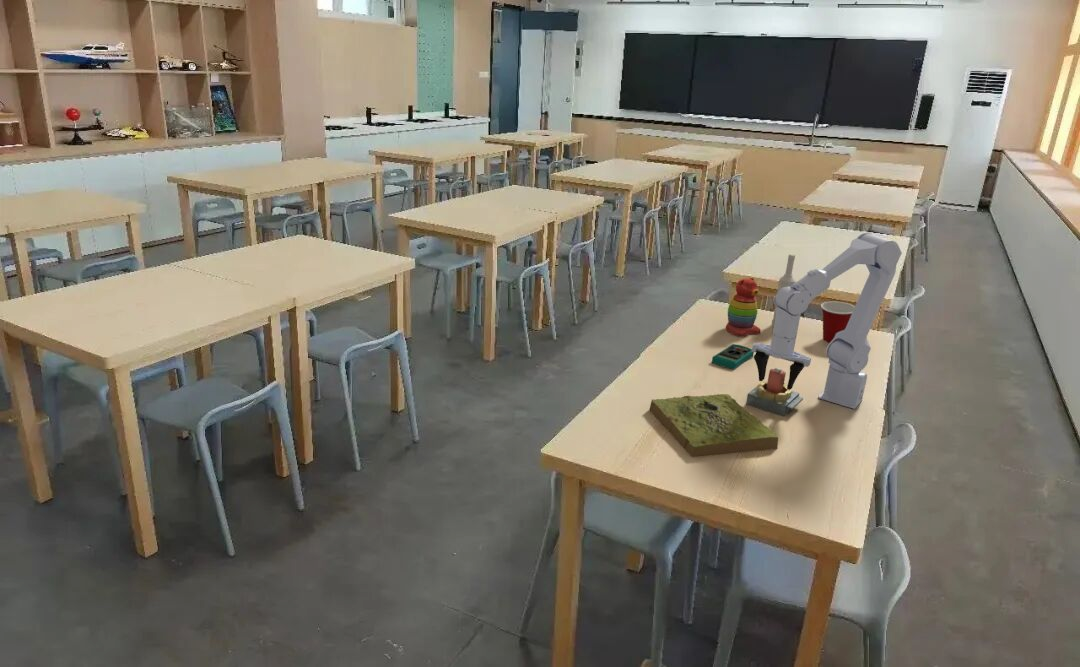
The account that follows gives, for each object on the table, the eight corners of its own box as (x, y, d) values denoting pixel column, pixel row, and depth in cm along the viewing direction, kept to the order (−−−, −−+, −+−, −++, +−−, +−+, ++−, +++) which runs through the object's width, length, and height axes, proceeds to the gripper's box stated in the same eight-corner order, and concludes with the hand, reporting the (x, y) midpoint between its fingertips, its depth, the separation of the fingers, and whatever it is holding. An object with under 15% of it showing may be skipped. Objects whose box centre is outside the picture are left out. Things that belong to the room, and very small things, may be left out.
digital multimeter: (754, 357, 221) (755, 348, 220) (734, 371, 210) (735, 361, 209) (731, 351, 225) (732, 342, 224) (710, 364, 214) (711, 355, 213)
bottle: (785, 324, 250) (798, 253, 241) (788, 329, 245) (801, 257, 236) (769, 323, 250) (782, 252, 242) (772, 328, 246) (785, 256, 237)
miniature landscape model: (691, 459, 161) (694, 439, 159) (648, 411, 182) (650, 393, 181) (777, 451, 167) (781, 431, 165) (726, 405, 188) (729, 388, 187)
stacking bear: (738, 337, 235) (747, 284, 229) (717, 327, 243) (725, 276, 237) (763, 333, 240) (772, 281, 234) (741, 323, 248) (749, 273, 242)
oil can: (783, 392, 189) (788, 368, 187) (779, 397, 186) (784, 373, 184) (768, 388, 191) (772, 364, 189) (764, 393, 188) (768, 369, 185)
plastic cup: (807, 337, 239) (813, 302, 235) (830, 333, 244) (837, 299, 240) (833, 348, 230) (841, 313, 226) (856, 344, 235) (864, 309, 231)
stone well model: (802, 405, 190) (805, 389, 188) (789, 418, 182) (792, 401, 180) (760, 392, 196) (763, 376, 194) (745, 404, 188) (748, 388, 187)
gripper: (750, 331, 184) (742, 380, 188) (808, 346, 176) (798, 397, 180) (761, 324, 189) (753, 372, 194) (817, 339, 181) (807, 388, 186)
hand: (775, 384), depth 187 cm, fingers open, 7 cm apart
